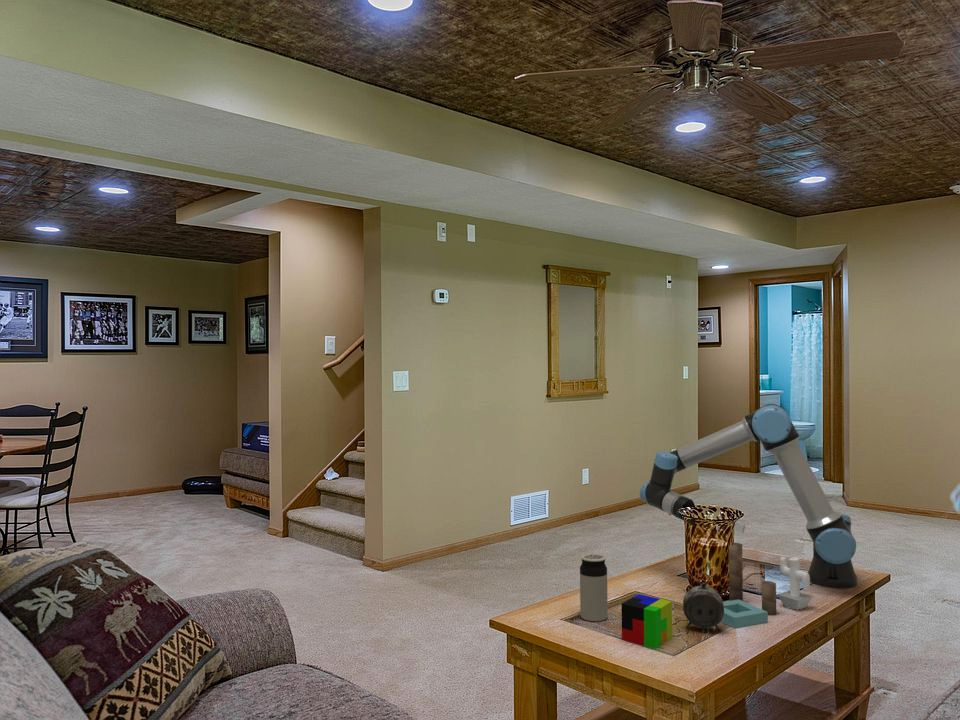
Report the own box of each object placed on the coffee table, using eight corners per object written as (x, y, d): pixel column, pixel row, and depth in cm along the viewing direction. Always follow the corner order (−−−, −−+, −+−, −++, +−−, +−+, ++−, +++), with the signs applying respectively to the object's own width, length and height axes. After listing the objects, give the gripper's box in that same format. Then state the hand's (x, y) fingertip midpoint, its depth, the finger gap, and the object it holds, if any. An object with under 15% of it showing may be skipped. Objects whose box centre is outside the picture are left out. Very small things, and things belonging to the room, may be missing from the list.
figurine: (801, 613, 217) (801, 563, 217) (774, 604, 225) (773, 556, 225) (816, 609, 221) (815, 559, 221) (788, 600, 229) (788, 552, 229)
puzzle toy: (638, 629, 206) (638, 594, 206) (672, 637, 200) (671, 601, 200) (621, 640, 199) (621, 603, 199) (655, 649, 192) (655, 611, 192)
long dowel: (736, 598, 231) (736, 542, 231) (745, 602, 228) (745, 545, 228) (726, 600, 230) (726, 543, 230) (735, 604, 226) (734, 546, 226)
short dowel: (769, 610, 221) (769, 580, 221) (779, 614, 217) (779, 584, 217) (759, 611, 220) (758, 581, 220) (768, 616, 216) (768, 585, 216)
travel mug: (610, 621, 212) (609, 560, 212) (583, 622, 212) (582, 560, 212) (604, 612, 220) (603, 552, 220) (578, 613, 220) (577, 553, 220)
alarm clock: (723, 628, 206) (723, 571, 206) (724, 635, 201) (724, 576, 201) (683, 625, 209) (682, 568, 209) (683, 632, 204) (682, 574, 204)
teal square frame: (739, 609, 222) (739, 599, 222) (767, 622, 211) (767, 612, 211) (706, 614, 217) (706, 604, 217) (734, 628, 206) (734, 617, 206)
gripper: (699, 516, 257) (751, 539, 240) (652, 517, 243) (704, 542, 226) (704, 495, 257) (756, 517, 240) (657, 495, 242) (709, 518, 225)
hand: (731, 529), depth 233 cm, fingers open, 13 cm apart
